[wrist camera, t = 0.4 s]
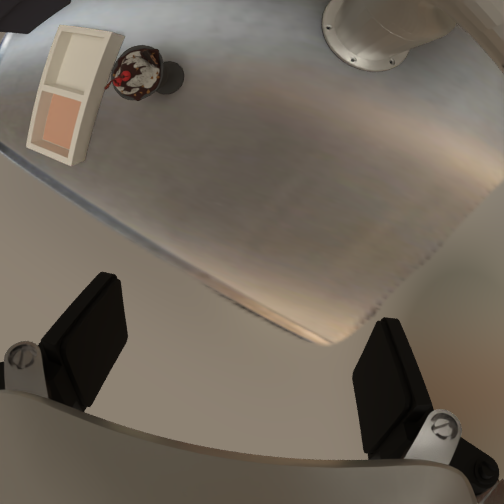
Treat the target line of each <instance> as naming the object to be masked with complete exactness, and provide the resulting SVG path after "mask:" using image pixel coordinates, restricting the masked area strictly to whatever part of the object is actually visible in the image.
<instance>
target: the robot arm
mask: <svg viewBox="0 0 504 504" xmlns="http://www.w3.org/2000/svg"><path fill="white" fill-rule="evenodd" d="M456 24H458V25H459V26H460V27H461V28H462V29H463V30H464V31H465V32H467V33H468V34H469V35H470V36H471V37H472V38H473V39H474V40H475V41H476V42H477V43H478V44H479V46H480V47H481V48H482V49H483V50H484V51H485V52H486V53H487V54H488V56H489V57H490V58H491V59H492V60H493V62H494V63H495V64H496V65H497V66H498V68H499V69H500V70H501V71H502V73H503V74H504V0H331V1H330V2H329V4H328V5H327V7H326V9H325V11H324V13H323V17H322V30H323V35H324V37H325V40H326V42H327V44H328V45H329V47H330V48H331V50H332V51H333V52H334V53H335V54H336V55H337V56H338V57H339V58H340V59H341V60H343V61H344V62H345V63H347V64H349V65H350V66H352V67H355V68H357V69H360V70H364V71H369V72H380V71H386V70H389V69H392V68H394V67H396V66H398V65H399V64H400V63H401V62H403V60H404V59H405V58H406V57H407V55H408V53H409V51H410V49H412V48H415V47H417V46H420V45H423V44H425V43H428V42H431V41H433V40H436V39H439V38H441V37H443V36H445V35H447V34H448V33H450V32H451V31H452V30H453V29H454V27H455V26H456ZM327 27H329V28H330V30H327V29H326V28H327ZM351 59H353V60H354V62H351ZM389 61H391V62H392V64H390V62H389ZM127 338H128V334H127V326H126V319H125V312H124V305H123V297H122V288H121V281H120V280H119V279H117V276H116V275H115V274H110V273H106V272H100V273H99V274H98V275H97V276H96V277H95V278H94V279H93V281H92V282H91V283H90V284H89V285H88V286H87V287H86V288H85V289H84V290H83V291H82V293H81V294H80V295H79V296H78V297H77V298H76V299H75V300H74V301H73V303H72V304H71V305H70V306H69V307H68V308H67V310H66V311H65V312H64V313H63V314H62V315H61V316H60V318H59V319H58V320H57V321H56V322H55V324H54V325H53V326H52V327H51V328H50V330H49V331H48V332H47V333H46V334H45V336H44V337H43V338H42V339H41V342H40V343H39V345H38V346H37V345H36V344H35V343H33V342H29V341H23V342H19V343H16V344H14V345H13V346H11V347H10V348H9V349H8V350H7V352H6V354H5V357H4V362H0V504H504V480H503V479H501V480H500V481H499V479H498V477H499V468H498V465H497V463H496V462H495V460H494V459H493V458H491V457H490V456H489V455H487V454H486V453H484V452H482V451H481V450H479V449H478V448H476V447H475V446H473V445H472V444H470V443H469V442H467V441H466V440H464V439H463V438H461V433H462V428H461V424H460V421H459V420H458V418H457V417H456V416H455V415H454V414H452V413H451V412H449V411H447V410H442V409H438V410H434V409H433V406H432V403H431V400H430V397H429V394H428V391H427V389H426V386H425V383H424V380H423V378H422V375H421V372H420V370H419V367H418V365H417V362H416V360H415V357H414V355H413V352H412V350H411V347H410V345H409V342H408V340H407V338H406V335H405V333H404V330H403V328H402V326H401V323H400V321H399V320H398V319H395V318H385V317H384V318H383V319H381V321H377V322H376V325H375V327H374V329H373V331H372V333H371V336H370V338H369V340H368V342H367V344H366V346H365V349H364V351H363V353H362V355H361V357H360V359H359V361H358V363H357V365H356V367H355V369H354V372H353V377H352V380H353V385H354V392H355V397H356V403H357V410H358V416H359V422H360V429H361V436H362V443H363V450H364V453H368V460H314V459H295V458H282V457H272V456H262V455H253V454H246V453H239V452H232V451H226V450H220V449H214V448H209V447H204V446H199V445H194V444H189V443H185V442H181V441H176V440H172V439H168V438H164V437H160V436H156V435H153V434H149V433H145V432H142V431H139V430H135V429H132V428H128V427H125V426H122V425H119V424H116V423H113V422H110V421H107V420H104V419H101V418H98V417H96V416H93V415H90V414H87V413H85V412H84V411H85V409H86V407H90V406H91V405H92V404H93V402H94V400H95V398H96V396H97V394H98V392H99V391H100V389H101V387H102V385H103V383H104V381H105V380H106V378H107V376H108V374H109V372H110V370H111V369H112V367H113V365H114V363H115V362H116V360H117V358H118V356H119V354H120V353H121V351H122V349H123V347H124V346H125V344H126V342H127Z"/></svg>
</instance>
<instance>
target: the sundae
mask: <svg viewBox="0 0 504 504" xmlns="http://www.w3.org/2000/svg"><path fill="white" fill-rule="evenodd" d="M183 80H184V73H183V70H182V68H181V67H180V66H179V65H178V64H177V63H174V62H164V63H163V60H162V56H161V54H160V53H159V50H158V49H154V48H153V47H149V46H145V45H139V46H134V47H131V48H129V49H128V50H126V51H125V52H124V53H123V54H122V55H121V56H120V57H119V58H118V60H117V61H116V63H115V65H114V67H113V69H112V74H111V81H110V83H111V82H112V84H113V87H114V89H115V90H116V92H117V93H118V94H119V95H120V96H121V97H123V98H125V99H128V100H137V101H140V100H141V99H143V98H146V97H148V96H150V95H151V94H153V93H154V92H155V91H157V92H159V93H161V94H171V93H173V92H175V91H177V90H178V89H179V88H180V87H181V85H182V83H183ZM110 83H109V84H107V86H105V87H104V89H107V88H108V87H109V85H110Z"/></svg>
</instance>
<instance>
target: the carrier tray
mask: <svg viewBox="0 0 504 504" xmlns="http://www.w3.org/2000/svg"><path fill="white" fill-rule="evenodd" d="M124 38H125V36H122V35H119V34H116V33H113V32H108V31H102V30H96V29H89V28H82V27H75V26H66V25H59V27H58V30H57V33H56V35H55V38H54V41H53V43H52V46H51V49H50V52H49V55H48V58H47V61H46V64H45V67H44V71H43V74H42V78H41V81H40V85H39V88H38V92H37V96H36V100H35V104H34V109H33V113H32V118H31V123H30V128H29V133H28V139H27V145H26V147H27V148H30V149H32V150H34V151H37V152H39V153H41V154H44V155H46V156H48V157H51V158H53V159H55V160H58V161H60V162H62V163H65V164H67V165H69V166H73V165H75V164H78V163H80V162H83V161H85V158H86V154H87V150H88V146H89V142H90V138H91V134H92V130H93V127H94V123H95V120H96V116H97V113H98V110H99V106H100V103H101V100H102V97H103V94H104V91H105V89H104V87H105V86H106V85H107V82H108V79H109V76H110V73H111V71H112V68H113V65H114V63H115V60H116V58H117V55H118V52H119V50H120V48H121V45H122V43H123V40H124Z"/></svg>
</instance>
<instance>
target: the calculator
mask: <svg viewBox="0 0 504 504" xmlns="http://www.w3.org/2000/svg"><path fill="white" fill-rule="evenodd" d="M69 3H70V0H0V32H12V33H23V34H28V33H30V32H31V31H32V30H33V29H35V28H36V27H37V26H39V25H40V24H41V23H42V22H44V21H45V20H47V19H48V18H49V17H51V16H52V15H53V14H55V13H56V12H58V11H59V10H61V9H62V8H63V7H65V6H66V5H68V4H69Z"/></svg>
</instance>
